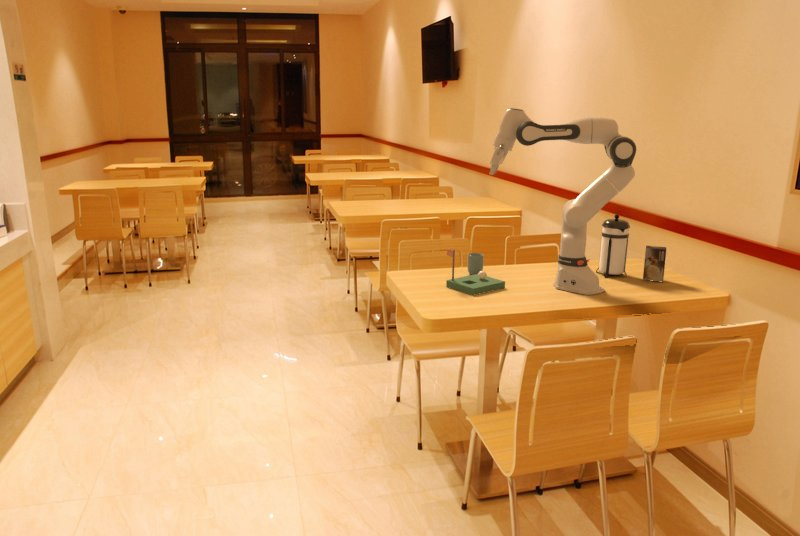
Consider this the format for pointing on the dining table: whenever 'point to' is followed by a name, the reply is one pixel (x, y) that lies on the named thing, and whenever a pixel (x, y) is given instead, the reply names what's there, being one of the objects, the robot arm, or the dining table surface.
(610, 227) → the coffee press
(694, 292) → the dining table surface
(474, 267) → the cup
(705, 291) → the dining table surface
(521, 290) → the dining table surface
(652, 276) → the coffee box
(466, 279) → the putting green
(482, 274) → the ball
